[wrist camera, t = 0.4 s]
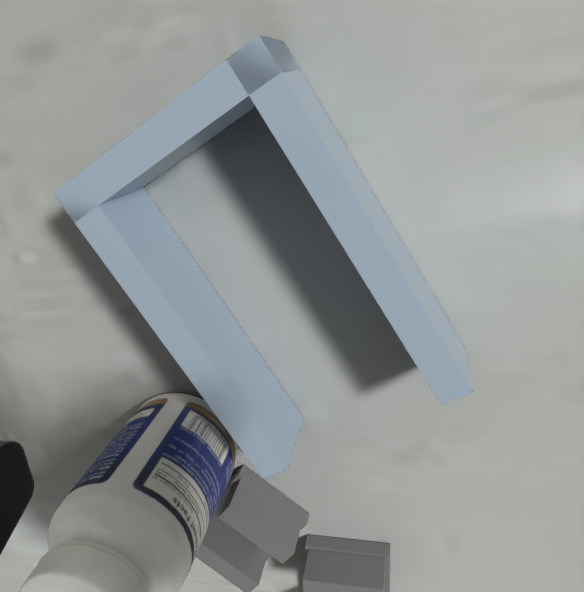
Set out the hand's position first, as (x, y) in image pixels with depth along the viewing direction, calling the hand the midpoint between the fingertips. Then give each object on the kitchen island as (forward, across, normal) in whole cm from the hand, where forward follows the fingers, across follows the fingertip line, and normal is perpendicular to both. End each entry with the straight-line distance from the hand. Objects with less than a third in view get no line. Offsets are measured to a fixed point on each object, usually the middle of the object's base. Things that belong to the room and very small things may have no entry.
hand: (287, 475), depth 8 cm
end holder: (+14, +3, +1) cm, 14 cm away
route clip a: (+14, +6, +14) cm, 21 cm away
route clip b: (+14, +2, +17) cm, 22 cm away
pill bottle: (+14, +9, +10) cm, 19 cm away
